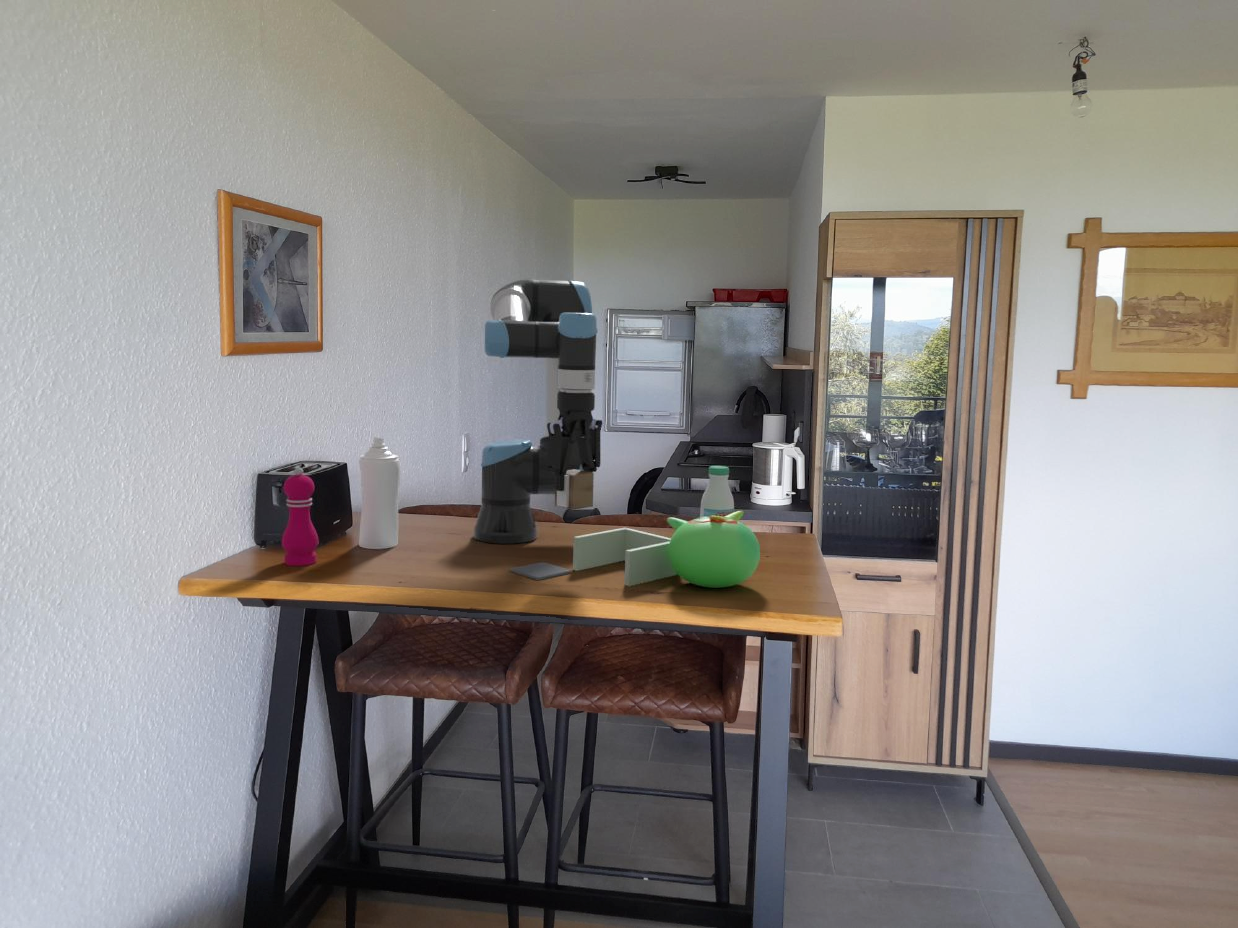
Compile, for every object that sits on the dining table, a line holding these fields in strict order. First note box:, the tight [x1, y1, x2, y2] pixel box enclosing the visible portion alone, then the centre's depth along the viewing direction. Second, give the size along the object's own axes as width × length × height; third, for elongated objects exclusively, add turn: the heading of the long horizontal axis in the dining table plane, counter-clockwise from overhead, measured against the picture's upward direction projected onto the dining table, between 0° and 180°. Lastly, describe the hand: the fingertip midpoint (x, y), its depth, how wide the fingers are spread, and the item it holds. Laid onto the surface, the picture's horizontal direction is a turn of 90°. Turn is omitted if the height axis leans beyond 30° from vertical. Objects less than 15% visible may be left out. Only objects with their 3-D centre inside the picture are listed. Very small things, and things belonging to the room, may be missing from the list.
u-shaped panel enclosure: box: [572, 527, 678, 587], centre depth 183 cm, size 15×16×7 cm
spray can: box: [358, 437, 401, 550], centre depth 198 cm, size 12×11×25 cm
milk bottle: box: [699, 465, 735, 517], centre depth 201 cm, size 8×8×20 cm
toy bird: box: [666, 510, 761, 589], centre depth 175 cm, size 18×17×15 cm
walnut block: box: [554, 469, 595, 511], centre depth 180 cm, size 6×6×7 cm
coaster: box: [509, 561, 573, 581], centre depth 182 cm, size 9×9×1 cm
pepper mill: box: [281, 467, 320, 567], centre depth 182 cm, size 7×7×20 cm
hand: (573, 504), depth 180 cm, fingers closed on walnut block, 5 cm apart
